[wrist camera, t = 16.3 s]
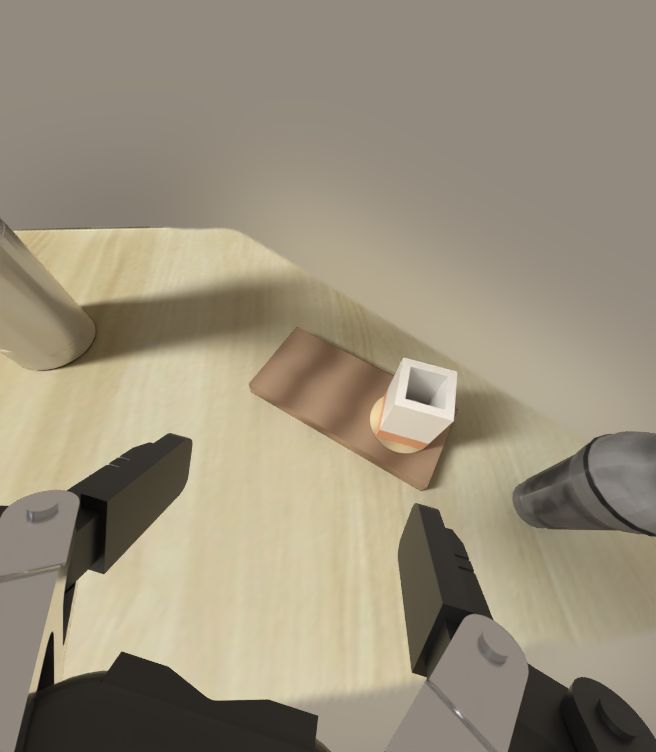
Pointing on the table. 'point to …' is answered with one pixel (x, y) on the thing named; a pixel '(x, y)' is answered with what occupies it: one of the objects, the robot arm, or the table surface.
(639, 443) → the beverage cup
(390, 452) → the pin board
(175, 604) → the table surface
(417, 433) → the sleeve
